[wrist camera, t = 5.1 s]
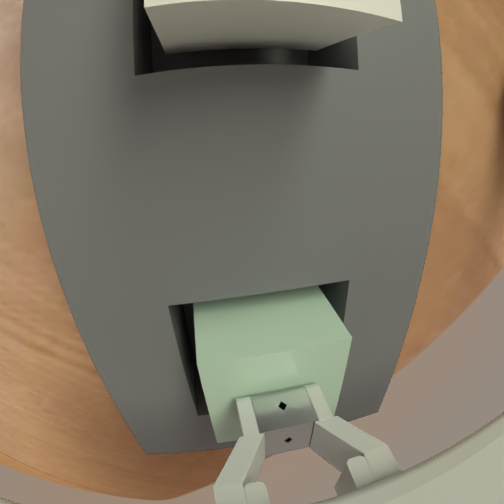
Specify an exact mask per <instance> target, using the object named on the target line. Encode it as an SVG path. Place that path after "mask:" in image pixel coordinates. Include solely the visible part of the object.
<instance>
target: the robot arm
mask: <svg viewBox="0 0 504 504" xmlns="http://www.w3.org/2000/svg"><path fill="white" fill-rule="evenodd" d="M236 406H237V413H238V419H239V426H240V431H241V436H242V437H239V438H238V440H237V442H236V444H235V446H234V448H233V450H232V452H231V454H230V456H229V458H228V460H227V462H226V463H225V465H224V467H223V469H222V471H221V473H220V475H219V477H218V478H217V480H216V482H215V484H214V486H213V490H214V497H215V503H216V504H270V500H269V497H268V493H267V489H266V486H265V484H264V483H262V482H260V481H258V482H256V480H257V477H258V475H259V472H260V470H261V467H262V465H263V462H264V460H265V456H269V455H274V454H278V453H282V452H286V451H292V450H296V449H301V448H305V447H310V448H311V449H312V450H313V451H314V452H316V453H317V454H318V455H319V456H321V457H322V458H323V459H324V460H326V461H327V462H328V463H330V464H331V465H332V466H334V467H335V468H336V469H338V470H339V471H340V472H342V473H341V475H340V477H339V479H338V481H337V483H336V485H335V490H336V492H337V495H338V496H336V497H333V498H330V499H327V500H323V501H319V502H316V503H312V504H504V412H503V413H502V414H500V415H499V416H498V417H496V418H495V419H494V420H492V421H490V422H489V423H488V424H486V425H485V426H483V427H482V428H480V429H479V430H477V431H476V432H474V433H472V434H471V435H469V436H468V437H466V438H464V439H463V440H461V441H459V442H458V443H456V444H454V445H453V446H451V447H449V448H447V449H446V450H444V451H442V452H440V453H438V454H437V455H435V456H433V457H431V458H429V459H427V460H425V461H423V462H421V463H419V464H417V465H415V466H413V467H411V468H408V469H406V470H404V471H402V472H401V470H400V468H399V466H398V464H397V462H396V460H395V458H394V457H393V455H392V453H391V451H390V449H389V447H388V445H387V444H385V443H383V442H382V441H380V440H378V439H376V438H374V437H373V436H371V435H369V434H367V433H366V432H364V431H362V430H360V429H359V428H357V427H355V426H354V425H352V424H350V423H349V422H347V421H345V420H344V419H342V418H340V417H339V416H333V414H332V412H331V410H330V408H329V406H328V403H327V401H326V399H325V397H324V395H323V393H322V390H321V388H320V386H319V385H318V384H317V383H314V384H310V385H306V386H300V387H296V388H291V389H287V390H282V391H277V392H274V393H268V394H262V395H255V396H248V397H242V398H236ZM0 504H19V503H16V502H13V501H10V500H7V499H4V498H0Z"/></svg>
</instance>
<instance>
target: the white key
mask: <svg viewBox="0 0 504 504" xmlns="http://www.w3.org/2000/svg"><path fill="white" fill-rule="evenodd" d="M144 8H145V10H146V13H147V15H148V17H149V19H150V21H151V23H152V25H153V28H154V30H155V32H156V34H157V36H158V38H159V40H160V42H161V45H162V47H163V49H164V51H165V53H166V54H173V53H182V52H192V51H203V50H218V49H245V48H271V49H298V50H313V51H317V50H319V49H322V48H325V47H327V46H330V45H332V44H335V43H338V42H341V41H343V40H346V39H349V38H352V37H355V36H358V35H361V34H364V33H367V32H370V31H373V30H376V29H380V28H383V27H386V26H390V25H393V24H397V23H400V22H403V20H402V11H401V3H400V0H144Z"/></svg>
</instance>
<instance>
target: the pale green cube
mask: <svg viewBox="0 0 504 504" xmlns="http://www.w3.org/2000/svg"><path fill="white" fill-rule="evenodd" d="M193 307H194V327H195V343H196V358H197V367H198V371H199V375H200V379H201V383H202V388H203V392H204V395H205V399H206V403H207V407H208V411H209V415H210V418H211V422H212V426H213V429H214V433H215V437H216V440H217V443H223V442H230V441H237V440H238V438H239V437H242V436H241V431H240V426H239V419H238V413H237V406H236V398H242V397H248V396H255V395H262V394H268V393H274V392H277V391H282V390H287V389H291V388H296V387H300V386H306V385H310V384H314V383H317V384H318V385H319V386H320V388H321V390H322V393H323V395H324V397H325V399H326V401H327V403H328V406H329V408H330V410H331V412H332V414H333V416H334V415H335V411H336V407H337V403H338V399H339V395H340V391H341V387H342V383H343V378H344V374H345V370H346V365H347V360H348V356H349V351H350V346H351V341H352V336H351V335H350V333H349V332H348V330H347V328H346V327H345V325H344V324H343V322H342V321H341V319H340V318H339V316H338V315H337V313H336V312H335V310H334V309H333V307H332V306H331V304H330V303H329V301H328V300H327V298H326V297H325V295H324V294H323V292H322V291H321V290H320V288H319V287H318V285H316V286H310V287H303V288H297V289H290V290H284V291H277V292H270V293H263V294H256V295H249V296H242V297H235V298H227V299H219V300H212V301H204V302H195V303H193Z"/></svg>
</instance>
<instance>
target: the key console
mask: <svg viewBox="0 0 504 504" xmlns="http://www.w3.org/2000/svg"><path fill="white" fill-rule="evenodd" d="M400 3H401V11H402V20H403V22H400V23H397V24H393V25H390V26H386V27H383V28H380V29H376V30H373V31H370V32H367V33H364V34H361V35H358V36H355V37H352V38H349V39H346V40H343V41H341V42H338V43H335V44H332V45H330V46H327V47H325V48H322V49H319V50H317V51H313V50H298V49H271V48H245V49H218V50H203V51H192V52H182V53H173V54H166V53H165V51H164V49H163V47H162V45H161V42H160V40H159V38H158V36H157V34H156V32H155V30H154V28H153V25H152V23H151V21H150V19H149V17H148V15H147V13H146V10H145V8H144V0H24V3H23V14H22V27H21V94H22V109H23V120H24V129H25V138H26V145H27V152H28V158H29V165H30V170H31V176H32V181H33V186H34V191H35V196H36V200H37V205H38V209H39V213H40V217H41V221H42V225H43V229H44V232H45V236H46V240H47V243H48V247H49V250H50V253H51V256H52V260H53V263H54V266H55V269H56V272H57V275H58V278H59V281H60V284H61V287H62V289H63V292H64V295H65V297H66V300H67V303H68V305H69V308H70V310H71V313H72V315H73V318H74V320H75V323H76V325H77V328H78V330H79V332H80V335H81V337H82V339H83V341H84V344H85V346H86V348H87V350H88V352H89V354H90V357H91V359H92V361H93V363H94V365H95V367H96V369H97V371H98V373H99V375H100V377H101V379H102V381H103V383H104V385H105V386H106V388H107V390H108V392H109V394H110V396H111V398H112V399H113V401H114V403H115V405H116V406H117V408H118V410H119V412H120V413H121V415H122V417H123V418H124V420H125V422H126V423H127V425H128V427H129V428H130V430H131V432H132V433H133V435H134V436H135V438H136V439H137V441H138V443H139V444H140V446H141V447H142V449H143V450H144V452H145V453H146V454H163V453H181V452H194V451H204V450H214V449H222V448H230V447H234V446H235V444H236V442H237V441H230V442H223V443H217V440H216V437H215V433H214V429H213V426H212V422H211V418H210V415H209V411H208V407H207V403H206V399H205V395H204V392H203V388H202V383H201V379H200V375H199V371H198V367H197V358H196V343H195V327H194V307H193V303H195V302H204V301H212V300H219V299H227V298H235V297H242V296H249V295H256V294H263V293H270V292H277V291H284V290H290V289H297V288H303V287H310V286H316V285H318V287H319V288H320V290H321V291H322V292H323V294H324V295H325V297H326V298H327V300H328V301H329V303H330V304H331V306H332V307H333V309H334V310H335V312H336V313H337V315H338V316H339V318H340V319H341V321H342V322H343V324H344V325H345V327H346V328H347V330H348V332H349V333H350V335H351V336H352V341H351V346H350V351H349V356H348V360H347V365H346V370H345V374H344V378H343V383H342V387H341V391H340V395H339V399H338V403H337V407H336V411H335V415H334V416H339V417H340V418H342V419H344V420H345V421H347V422H349V421H352V420H355V419H358V418H361V417H364V416H367V415H370V414H373V413H376V412H378V410H379V408H380V405H381V403H382V401H383V398H384V395H385V393H386V391H387V388H388V385H389V383H390V380H391V377H392V375H393V372H394V369H395V366H396V364H397V361H398V358H399V355H400V352H401V349H402V346H403V343H404V340H405V336H406V333H407V330H408V327H409V323H410V320H411V316H412V313H413V309H414V306H415V302H416V298H417V294H418V290H419V286H420V282H421V278H422V273H423V269H424V264H425V260H426V255H427V250H428V245H429V239H430V234H431V228H432V222H433V216H434V209H435V202H436V194H437V186H438V177H439V167H440V155H441V139H442V111H443V89H442V61H441V46H440V35H439V26H438V17H437V10H436V3H435V0H400Z"/></svg>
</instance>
